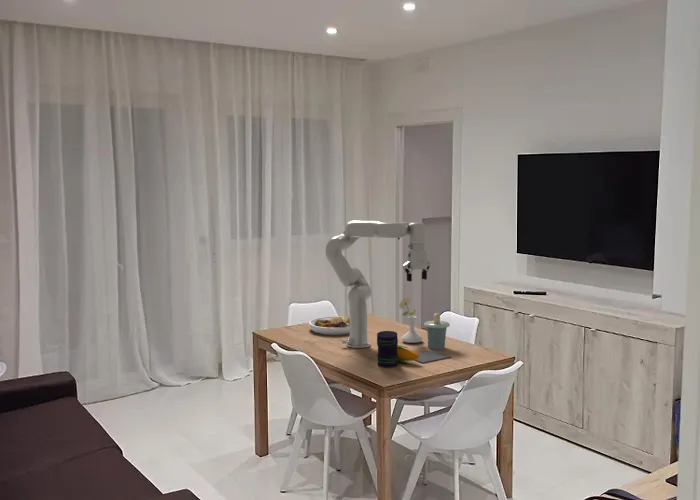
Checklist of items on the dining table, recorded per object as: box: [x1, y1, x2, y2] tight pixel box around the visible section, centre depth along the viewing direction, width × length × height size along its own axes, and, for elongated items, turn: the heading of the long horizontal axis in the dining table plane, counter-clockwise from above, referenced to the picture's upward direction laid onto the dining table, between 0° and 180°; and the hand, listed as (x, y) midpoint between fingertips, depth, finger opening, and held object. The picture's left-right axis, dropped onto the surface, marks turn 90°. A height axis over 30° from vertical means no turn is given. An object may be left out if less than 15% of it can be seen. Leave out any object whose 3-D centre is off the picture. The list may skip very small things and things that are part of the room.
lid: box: [424, 312, 450, 328], centre depth 343 cm, size 13×13×6 cm
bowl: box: [308, 315, 349, 336], centre depth 386 cm, size 30×30×8 cm
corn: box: [397, 345, 419, 362], centre depth 321 cm, size 7×8×20 cm
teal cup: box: [426, 327, 448, 351], centre depth 344 cm, size 10×10×12 cm
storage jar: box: [376, 330, 399, 369], centre depth 314 cm, size 10×10×15 cm
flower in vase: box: [398, 296, 423, 344], centre depth 356 cm, size 13×11×25 cm
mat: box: [414, 349, 452, 364], centre depth 328 cm, size 18×14×1 cm
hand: (416, 280), depth 338 cm, fingers open, 9 cm apart
